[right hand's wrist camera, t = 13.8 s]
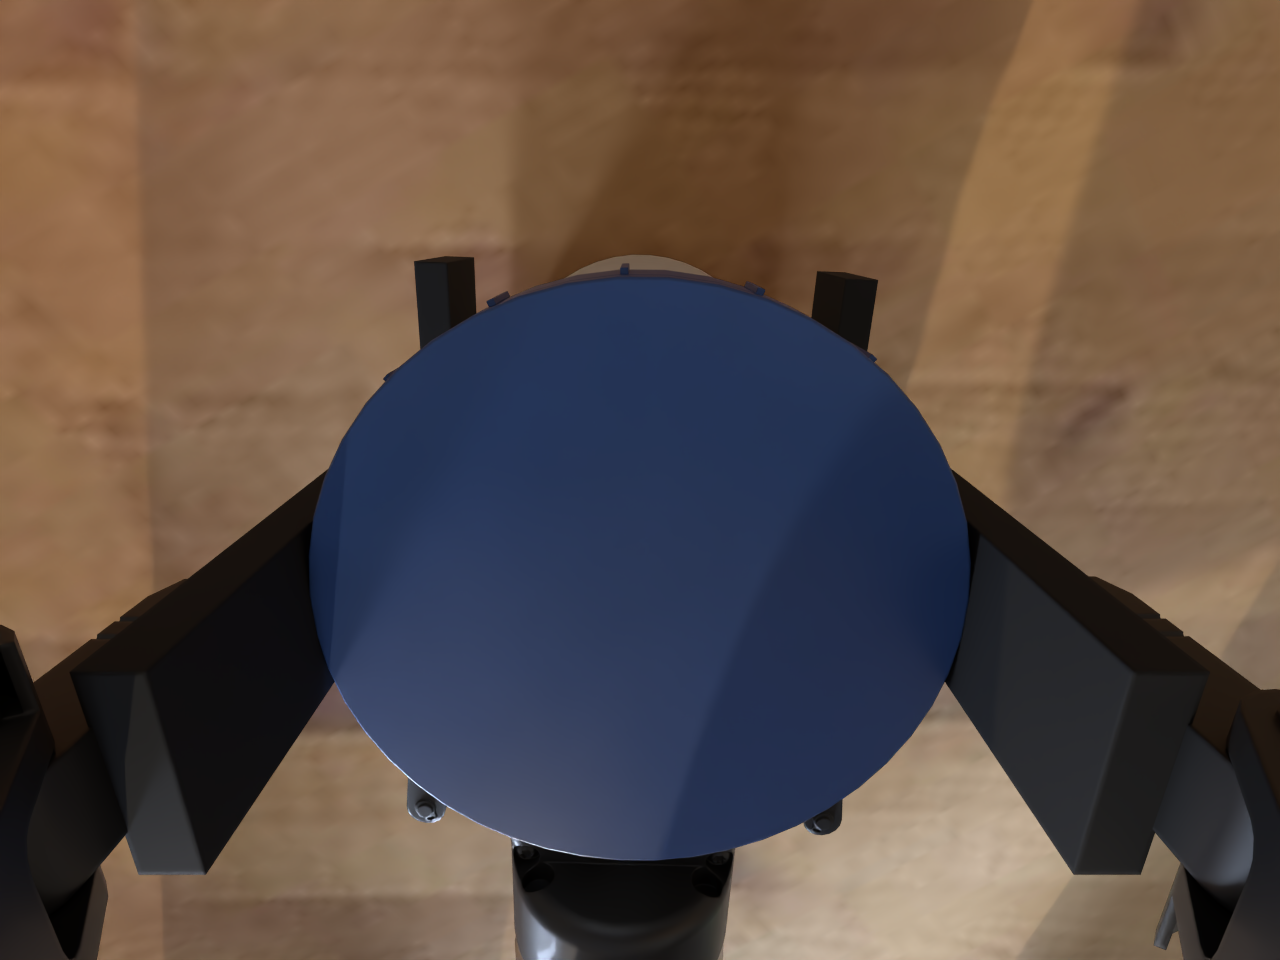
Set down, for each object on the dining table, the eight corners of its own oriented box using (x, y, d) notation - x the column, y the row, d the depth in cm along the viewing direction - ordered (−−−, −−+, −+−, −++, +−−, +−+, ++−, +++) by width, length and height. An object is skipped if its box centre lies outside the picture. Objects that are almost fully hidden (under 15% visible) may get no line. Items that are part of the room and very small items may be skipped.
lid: (482, 843, 14) (463, 918, 12) (235, 385, 11) (169, 411, 9) (971, 719, 13) (1015, 784, 11) (861, 167, 10) (902, 157, 8)
